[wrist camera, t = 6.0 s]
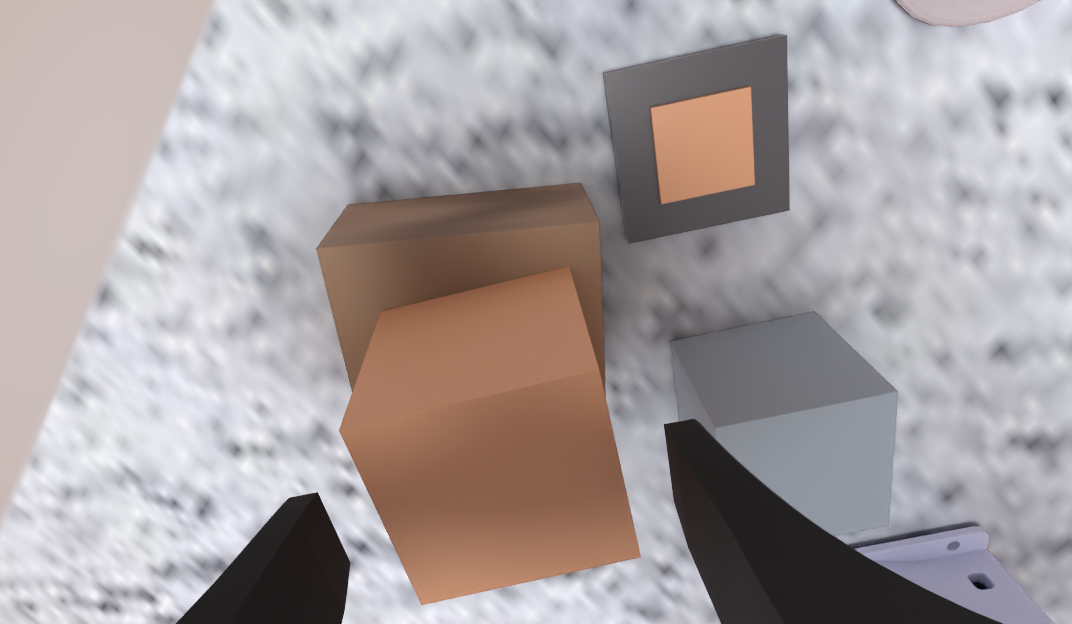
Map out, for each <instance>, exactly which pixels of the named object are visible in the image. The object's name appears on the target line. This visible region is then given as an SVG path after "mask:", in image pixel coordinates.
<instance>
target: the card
mask: <svg viewBox="0 0 1072 624" xmlns="http://www.w3.org/2000/svg"><path fill="white" fill-rule="evenodd" d="M603 79H604V86H605V93H606V100H607V107H608V114H609V121H610V128H611V136H612V143H613V150H614V157H615V164H616V171H617V178H618V185H619V192H620V200H621V207H622V214H623V221H624V228H625V235H626V240H627V242H628V244H629V243H634V242H639V241H644V240H649V239H653V238H658V237H663V236H668V235H673V234H678V233H682V232H687V231H692V230H697V229H702V228H707V227H711V226H716V225H721V224H726V223H731V222H735V221H740V220H745V219H750V218H755V217H760V216H764V215H769V214H774V213H779V212H784V211H788V210H789V144H788V79H787V35H776V36H772V37H767V38H762V39H758V40H753V41H749V42H744V43H739V44H735V45H730V46H725V47H721V48H716V49H712V50H707V51H702V52H698V53H693V54H689V55H684V56H679V57H675V58H670V59H666V60H661V61H656V62H652V63H647V64H642V65H638V66H633V67H629V68H624V69H619V70H615V71H610V72H606V73H603Z"/></svg>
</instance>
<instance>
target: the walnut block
mask: <svg viewBox="0 0 1072 624" xmlns="http://www.w3.org/2000/svg"><path fill="white" fill-rule="evenodd" d="M316 250H317V254H318V258H319V262H320V265H321V269H322V273H323V277H324V281H325V285H326V289H327V293H328V297H329V301H330V305H331V309H332V313H333V317H334V321H335V325H336V329H337V333H338V337H339V341H340V345H341V349H342V353H343V357H344V361H345V365H346V369H347V373H348V377H349V381H350V385H351V389H352V392H353V389H354V387H355V384H356V381H357V378H358V375H359V372H360V370H361V367H362V364H363V361H364V358H365V355H366V352H367V350H368V347H369V344H370V341H371V338H372V335H373V333H374V330H375V327H376V324H377V321H378V318H379V315H380V313H381V312H382V311H386V310H390V309H394V308H398V307H403V306H407V305H411V304H415V303H419V302H423V301H427V300H431V299H436V298H440V297H444V296H448V295H452V294H456V293H460V292H465V291H469V290H473V289H477V288H481V287H485V286H489V285H493V284H498V283H502V282H506V281H510V280H514V279H518V278H522V277H527V276H531V275H535V274H539V273H543V272H547V271H551V270H556V269H560V268H564V267H568V266H569V268H570V271H571V275H572V278H573V281H574V285H575V288H576V292H577V295H578V299H579V302H580V305H581V309H582V312H583V316H584V319H585V323H586V326H587V329H588V333H589V336H590V340H591V343H592V347H593V350H594V353H595V357H596V360H597V364H598V367H599V371H600V375H601V380H602V384H603V389H604V393H605V366H604V338H603V310H602V281H601V253H600V225H599V220H598V218H597V216H596V214H595V211H594V209H593V207H592V205H591V203H590V201H589V199H588V197H587V195H586V193H585V190H584V188H583V186H582V184H581V183H574V184H563V185H552V186H542V187H531V188H520V189H510V190H499V191H488V192H478V193H467V194H457V195H446V196H435V197H425V198H414V199H403V200H393V201H382V202H371V203H361V204H350V205H347V207H346V208H345V209H344V211H343V212H342V214H341V215H340V216H339V218H338V219H337V221H336V222H335V223H334V225H333V226H332V227H331V229H330V230H329V232H328V233H327V234H326V236H325V237H324V239H323V240H322V241H321V243H320V244H319V245H318V247H317V248H316ZM605 398H606V395H605Z"/></svg>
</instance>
